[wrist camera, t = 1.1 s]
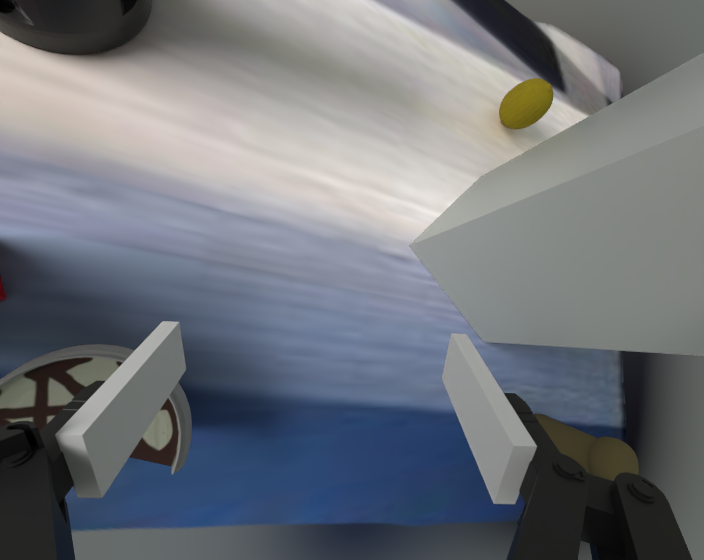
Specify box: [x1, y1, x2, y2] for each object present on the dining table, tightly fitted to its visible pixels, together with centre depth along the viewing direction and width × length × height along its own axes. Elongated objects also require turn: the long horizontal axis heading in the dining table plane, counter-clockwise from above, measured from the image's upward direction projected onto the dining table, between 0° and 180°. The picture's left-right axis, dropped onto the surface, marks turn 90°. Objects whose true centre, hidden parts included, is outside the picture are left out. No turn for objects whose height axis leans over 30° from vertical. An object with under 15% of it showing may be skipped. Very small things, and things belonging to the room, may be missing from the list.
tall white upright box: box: [409, 53, 704, 356], centre depth 32 cm, size 16×16×30 cm
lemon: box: [499, 78, 553, 129], centre depth 47 cm, size 6×6×8 cm
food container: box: [0, 344, 192, 475], centre depth 25 cm, size 12×6×10 cm, turn 70°
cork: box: [534, 414, 639, 481], centre depth 41 cm, size 6×6×11 cm
